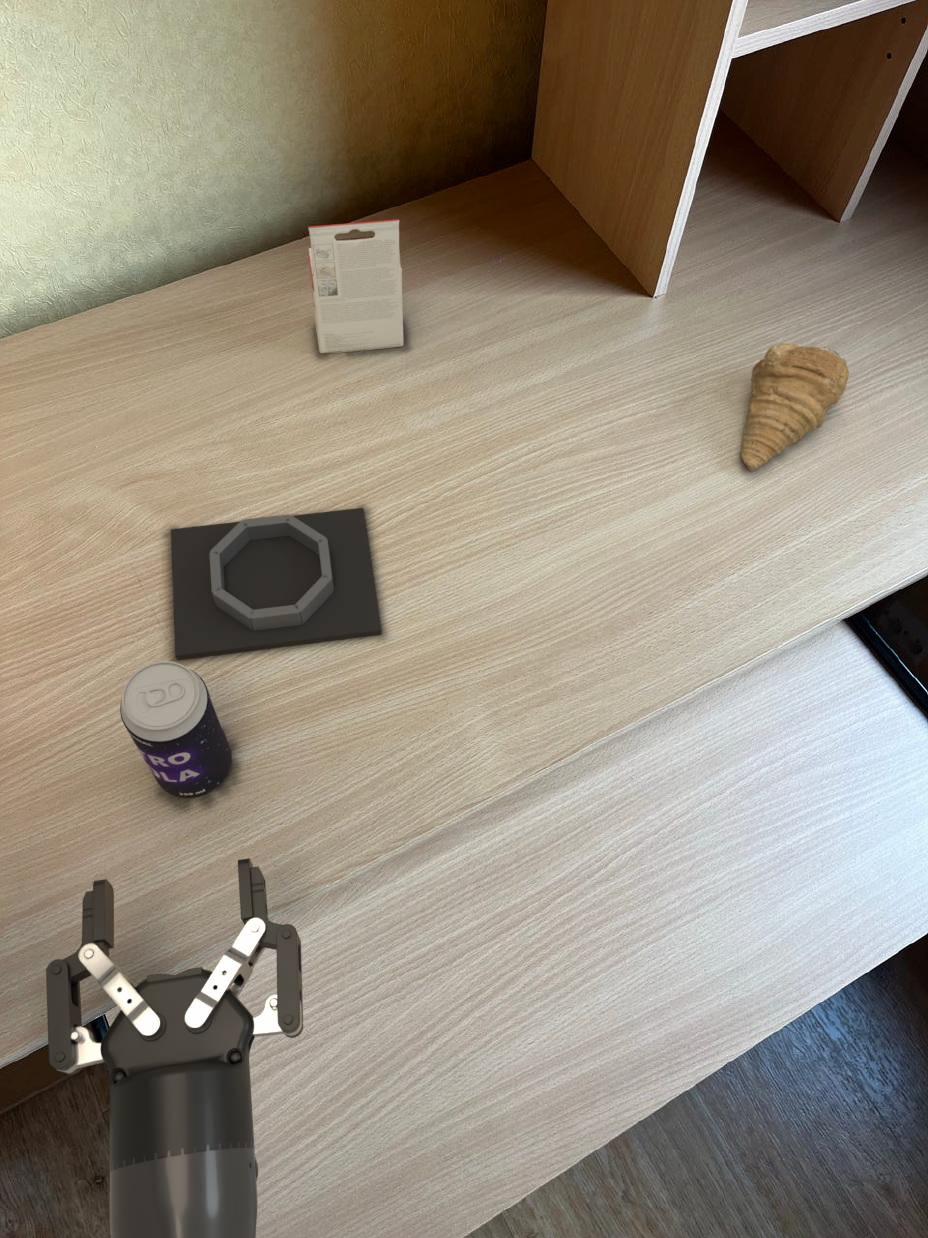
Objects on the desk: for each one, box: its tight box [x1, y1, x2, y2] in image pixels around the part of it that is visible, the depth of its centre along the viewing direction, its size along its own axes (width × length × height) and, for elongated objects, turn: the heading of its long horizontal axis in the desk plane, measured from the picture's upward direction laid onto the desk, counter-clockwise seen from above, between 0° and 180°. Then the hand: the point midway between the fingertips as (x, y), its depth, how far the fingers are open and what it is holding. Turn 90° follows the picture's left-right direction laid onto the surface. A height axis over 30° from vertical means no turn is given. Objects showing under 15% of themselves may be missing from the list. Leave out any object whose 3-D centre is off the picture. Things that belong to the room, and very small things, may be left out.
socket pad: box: [170, 507, 382, 661], centre depth 85 cm, size 16×12×3 cm
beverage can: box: [119, 660, 233, 799], centre depth 73 cm, size 6×6×12 cm
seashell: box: [739, 342, 850, 472], centre depth 94 cm, size 14×8×8 cm
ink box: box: [307, 219, 405, 355], centre depth 94 cm, size 4×8×15 cm, turn 99°
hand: (174, 872), depth 65 cm, fingers open, 8 cm apart
